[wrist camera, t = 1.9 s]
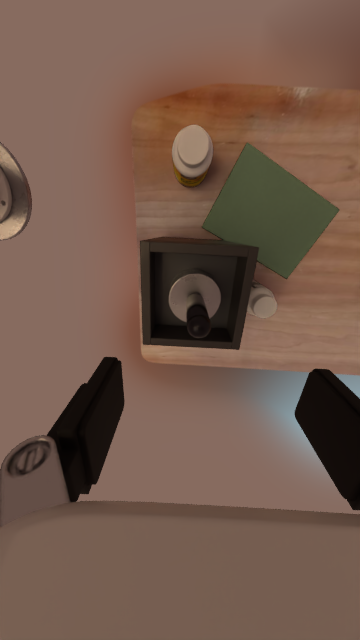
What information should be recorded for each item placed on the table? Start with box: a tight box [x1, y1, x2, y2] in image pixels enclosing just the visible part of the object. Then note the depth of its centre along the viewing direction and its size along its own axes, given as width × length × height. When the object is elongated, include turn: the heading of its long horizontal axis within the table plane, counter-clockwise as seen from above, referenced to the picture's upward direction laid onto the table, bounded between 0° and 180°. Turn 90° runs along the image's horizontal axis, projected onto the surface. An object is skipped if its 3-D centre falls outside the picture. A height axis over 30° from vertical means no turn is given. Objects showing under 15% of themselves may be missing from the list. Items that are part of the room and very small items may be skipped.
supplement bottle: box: [172, 125, 213, 187], centre depth 29 cm, size 6×6×10 cm
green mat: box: [202, 142, 339, 279], centre depth 36 cm, size 20×14×1 cm
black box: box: [140, 237, 259, 350], centre depth 32 cm, size 12×12×20 cm
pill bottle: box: [247, 280, 277, 319], centre depth 38 cm, size 5×5×10 cm
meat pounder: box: [169, 268, 221, 338], centre depth 21 cm, size 6×6×12 cm
